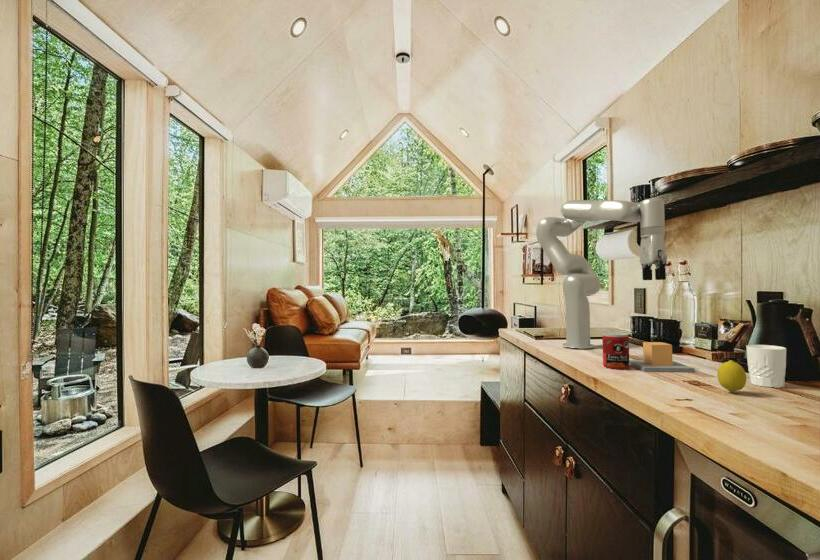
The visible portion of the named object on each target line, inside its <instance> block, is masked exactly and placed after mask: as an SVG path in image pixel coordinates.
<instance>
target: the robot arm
mask: <svg viewBox="0 0 820 560" xmlns="http://www.w3.org/2000/svg"><path fill="white" fill-rule="evenodd" d="M560 213H561V215H562V216H563V217H555V216H549V217H548V216H547V217H544V218H541V220H539V222H538V223H537V225H536V230H535V231H536V232H535V233H536V235H535V236H536V239H537V242H538V244H539V246H540V247H541V248H542V249H543V251H544V253H545V254H546V256H547V258H548V260H549V261H550V264H552V267H553V268H554V270H555V271H556V273H558V274H559V275H561V276H566V277H565V278H564V280H563V282H562V292H563V295H564V302H565V303H564V305H565V337H566V338H565V340H566V342H564V343H562V346H563V345H564V346H567V347H574V348H593V349H595V348H594V347H595V344H593V343H591V313H590V312H591V310H590V302H589V298H588V296H593V295H595V294H597V293H598V292H600V290H601V289H600V288H601V281H600V278H599V277H598V275H597V274H596V272H595V270H594V269H593V267H592V266H591V264H590V263H589V261H588V259H586V258H585V257H584V256H583V255H581V254H577V253H576V254H575V253H574V254H573V253H570V252H569V250H568V249H567V248H566V246H565V244H564V243H563V242H562V241H561V240H560V239H559V238H558V237H562V238H564V237H565V238H566V237H568V236H571V234H573V233H574V232H576V231H577V230H578V229H579V228H580V227H582V226H583V225H584V224H585V223H586V222H598V221H600V220H602V221H617V222H626V223H631V224H632V223H633V224H635V223H639V225H640V238H641V239H640V249H639V263H640V265H641V270H642V281H652V280H653V269H652V268H653V267H652V266H653V265H654V266H655V268H654V275H655V276H654V277H655V278H654V279H655V280H656V281H662V280H663V281H665V280H667V279H666V278H667V277H666V272H667V271H666V270H667V263H668V261H667V260H668V259H667V258H668V255H667V254H666V243H665V236H666V222H665V218H666V217H665V200H663V199H662V198H660V197H651V198H646V199H644V200H641V201H640V202H635V201H628V200H617V199H616V200H613V199H610V200H607V199H606V200H601V199H600V200H599V199H598V200H597V199H596V200H594V199H593V200H591V199H588V200H587V199H584V200H581V199H571V200H567V201H565V202H564V203H563V204H562V205H561V208H560Z"/></svg>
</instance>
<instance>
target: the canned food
mask: <svg viewBox="0 0 820 560" xmlns="http://www.w3.org/2000/svg"><path fill="white" fill-rule="evenodd" d="M629 336H630V335H629V334H628V333H625V332H619V331H618V332H613V331H612V332H611V331H609V332H608V331H607V332H602V336H601V337H602V338H601V339H602V365H603V368H605V367H606V369H608V368H610V369H609V370H615V369H619V370H618V371H625V370H624V369H626V370H628V369H629V368H630V365H629V360H630V337H629Z"/></svg>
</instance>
